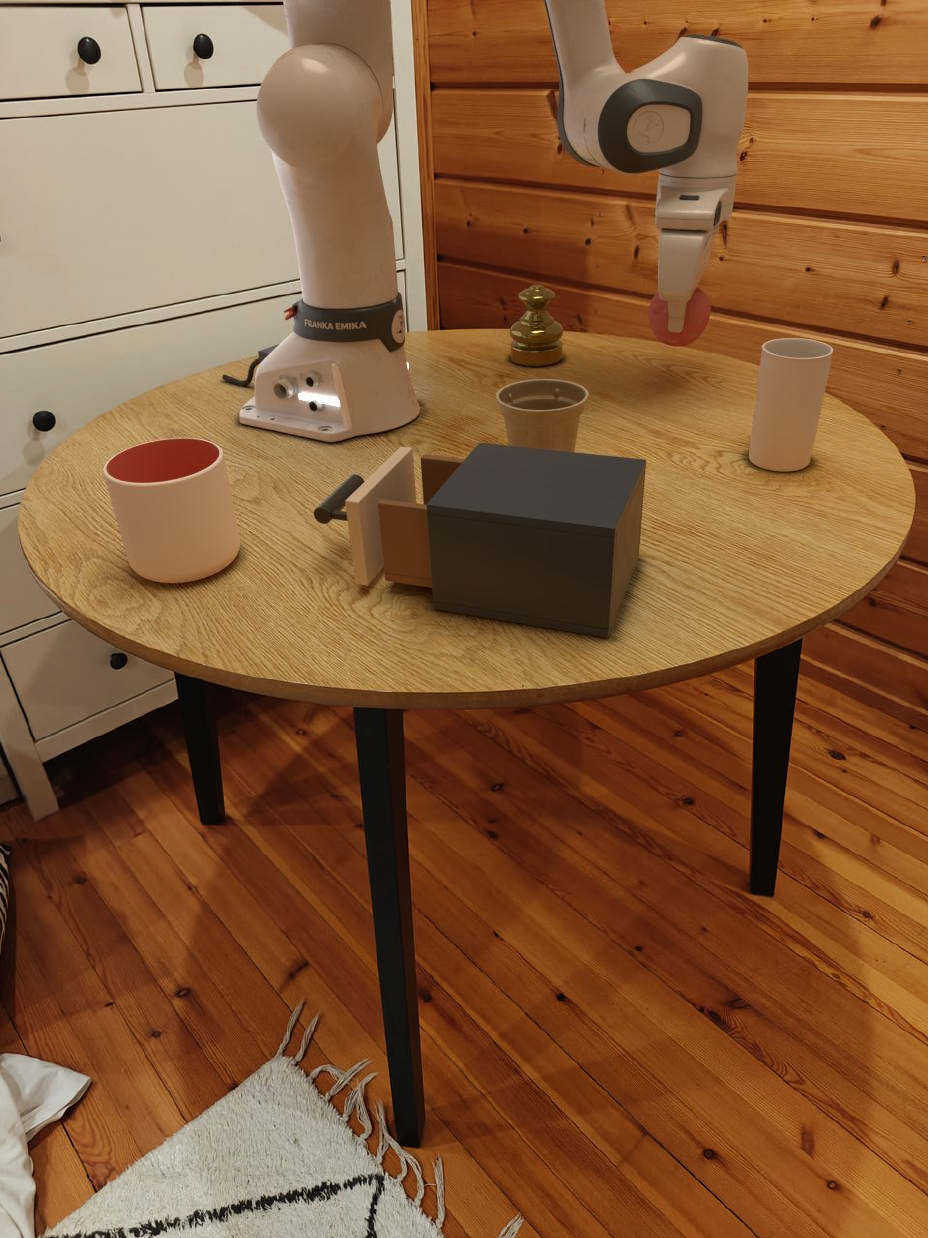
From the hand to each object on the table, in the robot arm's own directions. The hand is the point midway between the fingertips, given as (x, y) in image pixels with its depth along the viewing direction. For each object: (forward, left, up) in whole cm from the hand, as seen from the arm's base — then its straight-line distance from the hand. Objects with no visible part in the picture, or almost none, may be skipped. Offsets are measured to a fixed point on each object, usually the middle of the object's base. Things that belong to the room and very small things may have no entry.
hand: (680, 320), depth 113 cm
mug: (+14, -20, -8) cm, 26 cm away
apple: (0, 0, -3) cm, 3 cm away
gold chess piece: (-20, +6, -8) cm, 23 cm away
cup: (-35, -58, -8) cm, 68 cm away
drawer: (-13, -53, -7) cm, 55 cm away
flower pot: (-9, -31, -8) cm, 33 cm away
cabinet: (-3, -53, -8) cm, 54 cm away
